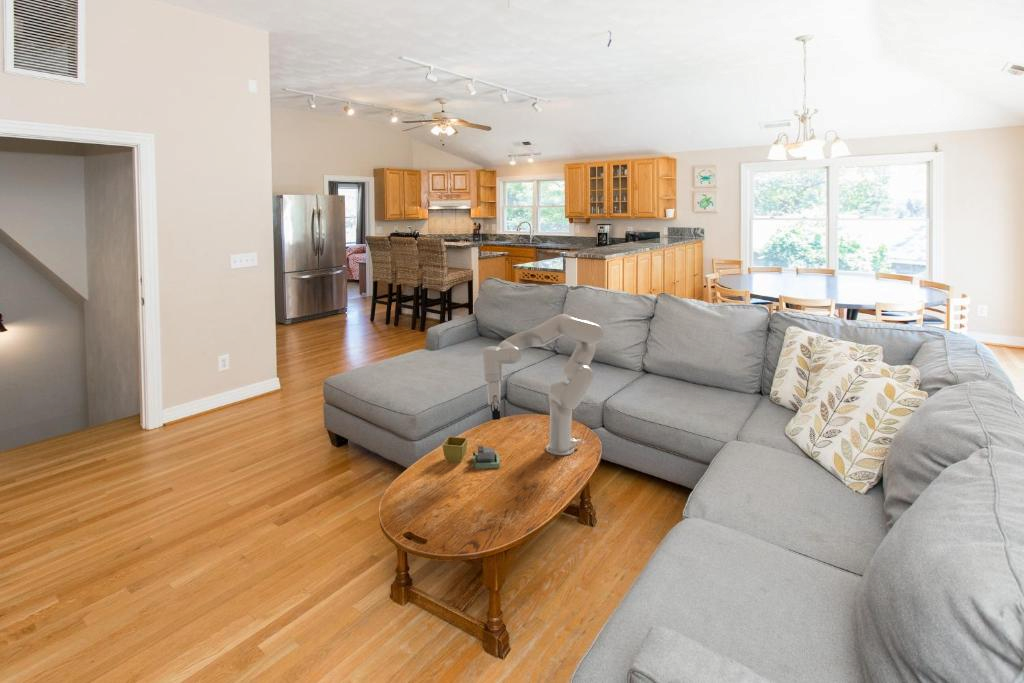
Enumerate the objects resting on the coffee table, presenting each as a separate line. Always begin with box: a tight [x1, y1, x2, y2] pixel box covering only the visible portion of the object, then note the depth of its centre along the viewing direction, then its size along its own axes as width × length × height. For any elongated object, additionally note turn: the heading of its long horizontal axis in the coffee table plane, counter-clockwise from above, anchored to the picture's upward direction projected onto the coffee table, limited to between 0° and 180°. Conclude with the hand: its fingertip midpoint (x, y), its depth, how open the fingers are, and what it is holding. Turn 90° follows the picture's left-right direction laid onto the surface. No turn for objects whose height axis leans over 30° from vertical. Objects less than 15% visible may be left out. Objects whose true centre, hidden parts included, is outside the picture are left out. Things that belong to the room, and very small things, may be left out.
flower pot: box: [442, 436, 468, 464], centre depth 242 cm, size 9×9×9 cm
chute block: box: [477, 445, 496, 463], centre depth 240 cm, size 7×5×7 cm
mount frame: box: [472, 451, 501, 470], centre depth 241 cm, size 11×10×3 cm
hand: (495, 415), depth 240 cm, fingers open, 9 cm apart
